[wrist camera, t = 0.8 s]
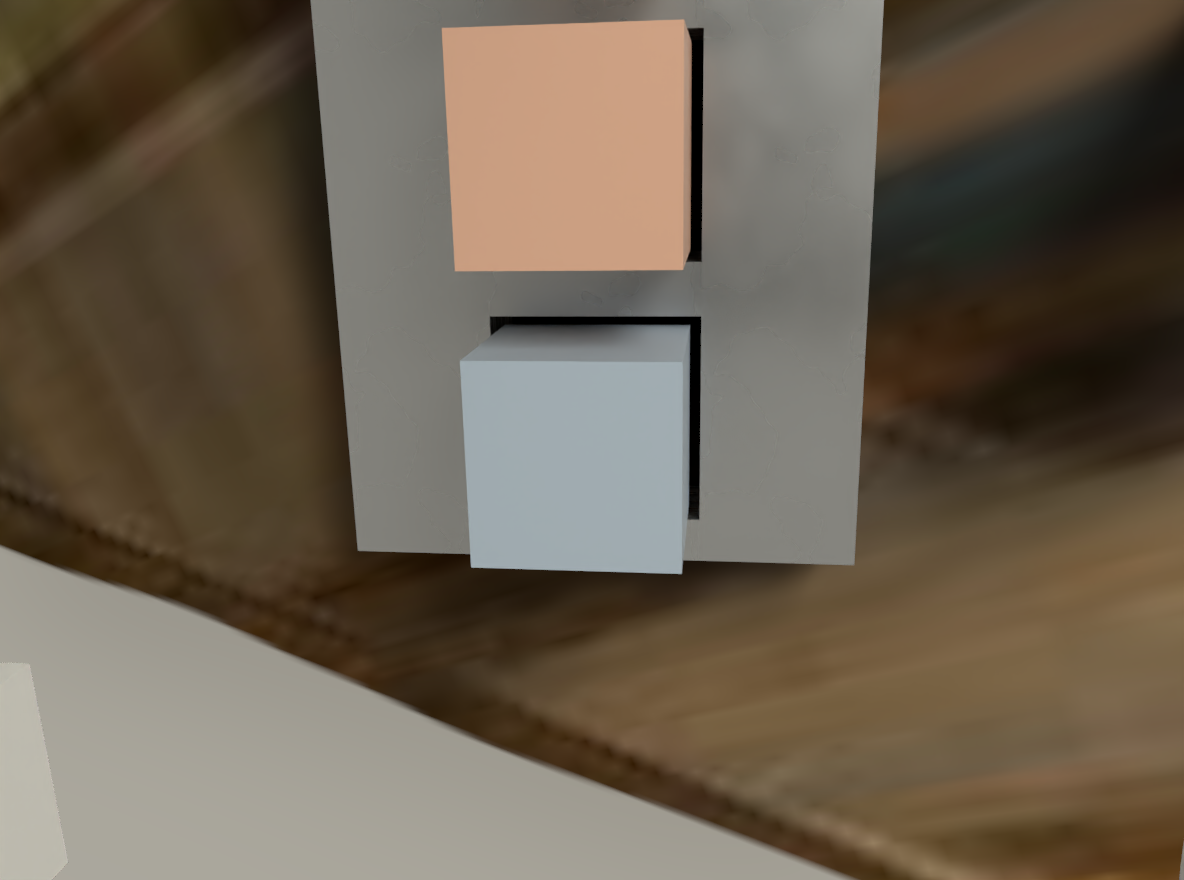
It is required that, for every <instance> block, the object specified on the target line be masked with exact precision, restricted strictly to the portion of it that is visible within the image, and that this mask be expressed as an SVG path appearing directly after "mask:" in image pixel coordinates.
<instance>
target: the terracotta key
mask: <svg viewBox="0 0 1184 880" xmlns="http://www.w3.org/2000/svg"><path fill="white" fill-rule="evenodd" d="M442 44H443V62H444V80H445V99H446V117H447V135H448V154H449V172H450V190H451V208H452V227H453V245H454V263H455V271H614V270H683V269H684V266H685V263H686V260H687V257H688V255H689V252H690V249H691V106H692V42H691V39H690V36H689V33H688V30H687V27H686V23H685V20H684V19H681V20H653V21H625V22H597V23H569V24H541V25H512V26H484V27H456V28H442Z"/></svg>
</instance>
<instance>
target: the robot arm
mask: <svg viewBox="0 0 1184 880" xmlns="http://www.w3.org/2000/svg"><path fill="white" fill-rule="evenodd" d="M67 863H68V858H67V853H66V848H65V843H64V837H63V833H62V827H61V822H60V817H59V812H58V807H57V802H56V796H55V791H54V786H53V782H52V776H51V771H50V766H49V761H48V756H47V751H46V746H45V740H44V735H43V730H42V725H41V720H40V715H39V710H38V705H37V700H36V694H35V689H34V684H33V679H32V674H31V669H30V664H29V663H0V880H52V879H53V878H54V877H55V876H56V875H57V874H58V873H59V872H60V871H61V869H63V867H65V865H66V864H67ZM1179 880H1184V844H1183V852H1182V860H1181V868H1180V876H1179Z"/></svg>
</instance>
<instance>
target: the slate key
mask: <svg viewBox="0 0 1184 880" xmlns="http://www.w3.org/2000/svg"><path fill="white" fill-rule="evenodd" d="M460 373H461V391H462V410H463V428H464V446H465V465H466V483H467V501H468V519H469V538H470V556H471V568H503V569H536V570H569V571H602V572H635V573H667V574H682V568H683V558H684V548H685V538H686V529H687V519H688V509H689V434H690V325H504V326H503V327H501V328H500V329H499V330H498V331H496V332H495V333H494V334H493V335H491V336H490V337H489V338H488V339H486V340H485V341H484V342H483V343H481V344H480V345H479V346H478V347H477V348H475V349H474V350H473V351H472V352H470V353H469V354H468V355H467V356H465V357H464V358H463V359H462V360H460Z"/></svg>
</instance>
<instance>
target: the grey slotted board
mask: <svg viewBox="0 0 1184 880" xmlns="http://www.w3.org/2000/svg"><path fill="white" fill-rule="evenodd" d="M883 5H884V0H311V11H312V23H313V34H314V46H315V58H316V69H317V81H318V93H319V104H320V116H321V127H322V139H323V151H324V162H325V174H326V186H327V197H328V209H329V221H330V232H331V244H332V256H333V267H334V279H335V290H336V302H337V314H338V325H339V337H340V349H341V360H342V372H343V384H344V395H345V407H346V419H347V430H348V442H349V453H350V465H351V477H352V488H353V500H354V512H355V523H356V535H357V547H358V551H380V552H414V553H449V554H470V538H469V519H468V501H467V483H466V465H465V446H464V428H463V410H462V391H461V373H460V360H462V359H463V358H464V357H465V356H467V355H468V354H469V353H470V352H472V351H473V350H474V349H475V348H477V347H478V346H479V345H480V344H481V343H483V342H484V341H485V340H486V339H488V338H489V337H490V336H491V335H493V334H494V333H495V332H496V331H498V330H499V329H500V328H501V327H503V326H504V325H513V318H512V316H701V397H700V486H690V485H689V509H688V519H687V529H686V538H685V548H684V558H683V560H692V561H727V562H762V563H797V564H831V565H854V560H855V541H856V521H857V502H858V483H859V464H860V445H861V426H862V407H863V388H864V369H865V349H866V330H867V311H868V292H869V273H870V254H871V235H872V216H873V196H874V177H875V158H876V139H877V120H878V101H879V82H880V63H881V44H882V24H883ZM681 19H684V20H685V23H686V27H687V30H688V33H689V36H690V39H691V40H704V63H703V174H702V251H690V252H689V255H688V257H687V260H686V263H685V266H684V269H683V270H614V271H455V263H454V245H453V227H452V208H451V190H450V172H449V154H448V135H447V117H446V99H445V80H444V62H443V44H442V28H456V27H484V26H512V25H541V24H569V23H597V22H625V21H653V20H681Z"/></svg>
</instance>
